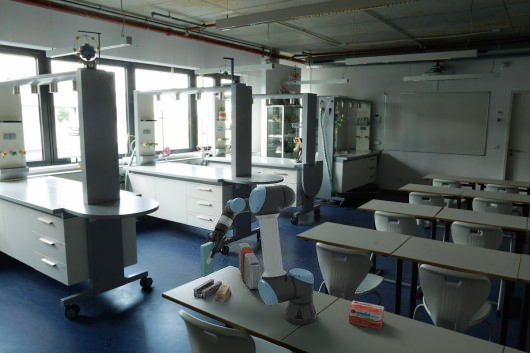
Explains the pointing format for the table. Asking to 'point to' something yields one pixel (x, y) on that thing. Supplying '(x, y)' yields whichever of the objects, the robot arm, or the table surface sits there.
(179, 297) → the table surface
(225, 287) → the block
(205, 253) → the teal board
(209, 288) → the board rack
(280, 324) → the table surface
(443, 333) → the table surface
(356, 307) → the medicine box
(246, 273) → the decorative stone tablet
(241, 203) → the robot arm
